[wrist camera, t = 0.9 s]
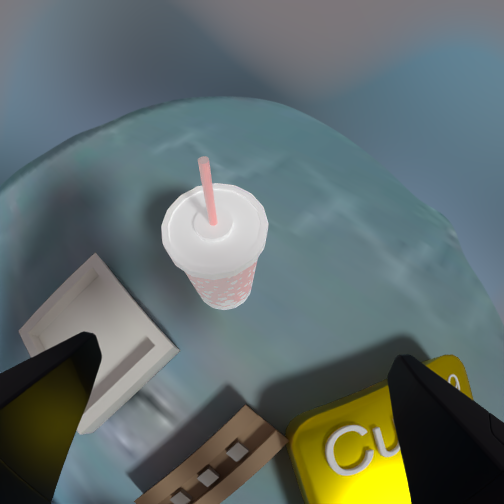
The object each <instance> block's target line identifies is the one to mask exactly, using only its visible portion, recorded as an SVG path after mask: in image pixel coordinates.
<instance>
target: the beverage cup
mask: <svg viewBox="0 0 504 504" xmlns="http://www.w3.org/2000/svg"><path fill="white" fill-rule="evenodd" d="M198 164H199V170H200V175H201V181H202V186H198V187H195V188H194V189H192V190H190V191H188V192H186V193H184V194H182V195H180V196H179V198H178V199H177V200H176V201H175V202H174V203H173V204H172V205H171V206H170V207H169V208H168V210H167V212H166V215H165V217H164V220H163V223H162V225H161V229H162V242H163V245H164V247H165V249H166V251H167V252H168V254H169V256H170V257H171V259H172V260H173V262H174V264H175V265H176V266H177V267H179V268H180V269H182V270H183V271H184V272H185V273H186V275H187V276H188V278H189V279H190V281H191V283H192V284H193V286H194V287H195V289H196V290H197V292H198V293H199V295H200V296H201V298H202V299H203V301H204V302H205V303H206V304H208V305H209V306H211V307H213V308H216V309H221V310H227V309H232V308H236V307H237V306H239V305H240V304H242V303H243V302H244V301H245V300H246V299H247V297H248V296H249V294H250V292H251V287H252V282H253V278H254V273H255V268H256V264H257V259H258V257H259V255H260V254H261V252H262V251H263V249H264V246H265V242H266V236H267V230H268V220H267V217H266V214H265V211H264V207H263V206H262V205H261V204H260V203H259V201H258V200H257V199H256V198H255V197H254V196H253V195H252V194H251V193H249V192H247V191H245V190H243V189H241V188H239V187H237V186H235V185H227V184H219V183H214V184H212V179H211V172H210V164H209V158H208V157H205V156H203V157H200V158H199V159H198Z"/></svg>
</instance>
